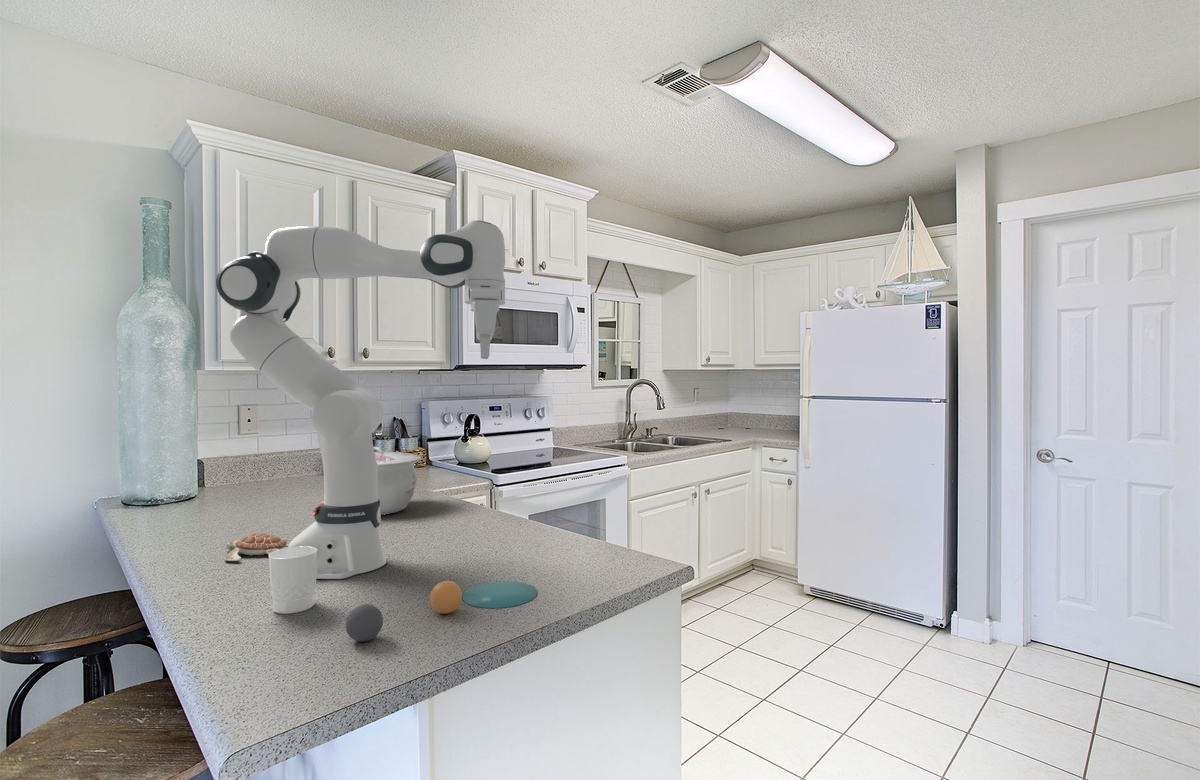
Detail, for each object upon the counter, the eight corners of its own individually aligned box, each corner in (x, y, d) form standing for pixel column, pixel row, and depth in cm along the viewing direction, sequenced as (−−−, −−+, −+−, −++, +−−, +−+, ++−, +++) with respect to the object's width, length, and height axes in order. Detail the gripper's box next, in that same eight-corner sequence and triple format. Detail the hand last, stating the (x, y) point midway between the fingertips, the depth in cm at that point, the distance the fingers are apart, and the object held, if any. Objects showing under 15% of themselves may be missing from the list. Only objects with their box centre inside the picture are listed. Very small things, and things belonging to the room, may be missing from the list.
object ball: (427, 619, 103) (427, 587, 103) (432, 607, 109) (431, 577, 108) (460, 617, 104) (460, 585, 104) (463, 606, 109) (463, 575, 109)
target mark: (493, 614, 105) (493, 613, 105) (447, 595, 115) (447, 594, 115) (552, 593, 116) (552, 592, 116) (505, 577, 125) (505, 576, 125)
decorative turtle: (252, 543, 155) (252, 524, 155) (313, 545, 153) (313, 525, 153) (198, 565, 137) (198, 543, 137) (267, 567, 135) (266, 544, 135)
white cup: (281, 600, 113) (280, 546, 113) (324, 598, 113) (324, 545, 113) (261, 616, 105) (260, 559, 105) (308, 614, 106) (307, 557, 105)
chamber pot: (405, 522, 176) (405, 451, 175) (312, 522, 176) (311, 451, 176) (433, 502, 204) (433, 441, 203) (352, 503, 204) (352, 441, 204)
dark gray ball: (341, 648, 92) (341, 613, 92) (350, 634, 97) (350, 600, 97) (379, 646, 93) (378, 610, 93) (386, 631, 98) (386, 598, 98)
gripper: (471, 301, 144) (470, 359, 144) (470, 288, 124) (469, 355, 124) (497, 302, 145) (497, 359, 145) (501, 289, 125) (500, 356, 125)
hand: (484, 358), depth 135 cm, fingers open, 8 cm apart
